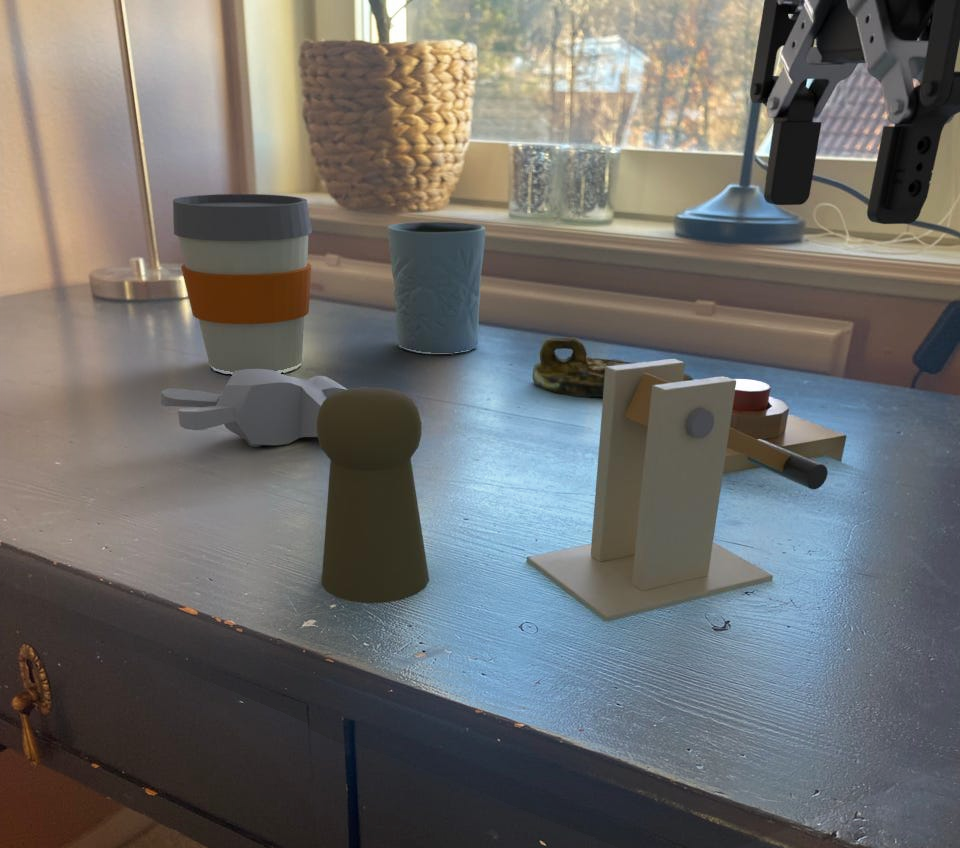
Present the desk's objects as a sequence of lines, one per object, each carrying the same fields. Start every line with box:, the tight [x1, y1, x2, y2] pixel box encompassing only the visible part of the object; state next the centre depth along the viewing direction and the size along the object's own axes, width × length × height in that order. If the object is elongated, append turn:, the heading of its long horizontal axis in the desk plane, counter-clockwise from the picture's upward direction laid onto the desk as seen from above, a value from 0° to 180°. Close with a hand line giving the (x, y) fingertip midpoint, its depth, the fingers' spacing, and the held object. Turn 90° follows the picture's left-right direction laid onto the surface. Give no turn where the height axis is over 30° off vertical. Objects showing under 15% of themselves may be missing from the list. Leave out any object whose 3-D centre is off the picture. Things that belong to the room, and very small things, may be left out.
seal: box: [532, 336, 694, 398], centre depth 90 cm, size 9×5×15 cm
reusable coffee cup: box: [172, 193, 313, 372], centre depth 93 cm, size 13×12×15 cm
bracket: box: [525, 358, 774, 623], centre depth 51 cm, size 11×8×12 cm
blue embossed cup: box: [387, 221, 487, 353], centre depth 102 cm, size 10×10×12 cm
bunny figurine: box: [160, 369, 348, 448], centre depth 75 cm, size 10×5×15 cm
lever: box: [625, 373, 828, 490], centre depth 52 cm, size 12×5×2 cm, turn 117°
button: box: [732, 378, 772, 412], centre depth 72 cm, size 4×4×2 cm
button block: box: [723, 396, 847, 475], centre depth 73 cm, size 12×10×4 cm
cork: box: [317, 386, 430, 604], centre depth 50 cm, size 6×6×11 cm
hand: (833, 212), depth 46 cm, fingers open, 8 cm apart
